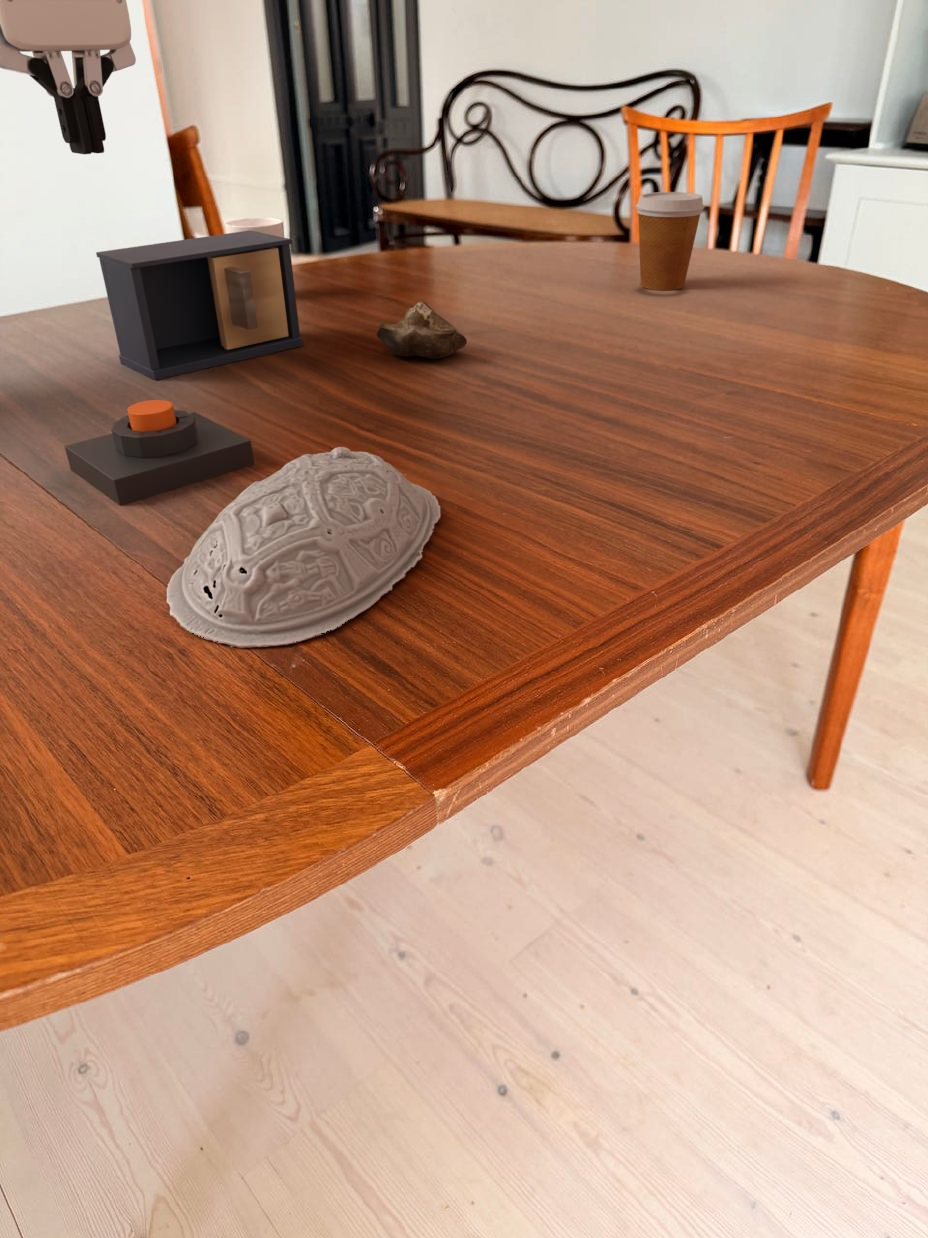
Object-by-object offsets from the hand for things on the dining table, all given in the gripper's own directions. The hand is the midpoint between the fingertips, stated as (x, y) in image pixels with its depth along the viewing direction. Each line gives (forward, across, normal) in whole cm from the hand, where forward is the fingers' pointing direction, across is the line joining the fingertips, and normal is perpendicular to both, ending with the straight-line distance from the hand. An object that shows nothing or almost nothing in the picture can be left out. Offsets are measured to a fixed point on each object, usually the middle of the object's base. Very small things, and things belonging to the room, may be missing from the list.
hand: (87, 151), depth 74 cm
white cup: (+23, -36, -38) cm, 57 cm away
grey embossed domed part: (+23, +3, +34) cm, 41 cm away
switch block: (+23, +4, +12) cm, 26 cm away
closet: (+23, -16, -16) cm, 32 cm away
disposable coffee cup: (+23, -81, -1) cm, 84 cm away
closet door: (+22, -20, -11) cm, 31 cm away
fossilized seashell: (+23, -33, +2) cm, 40 cm away
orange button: (+20, +4, +12) cm, 23 cm away
